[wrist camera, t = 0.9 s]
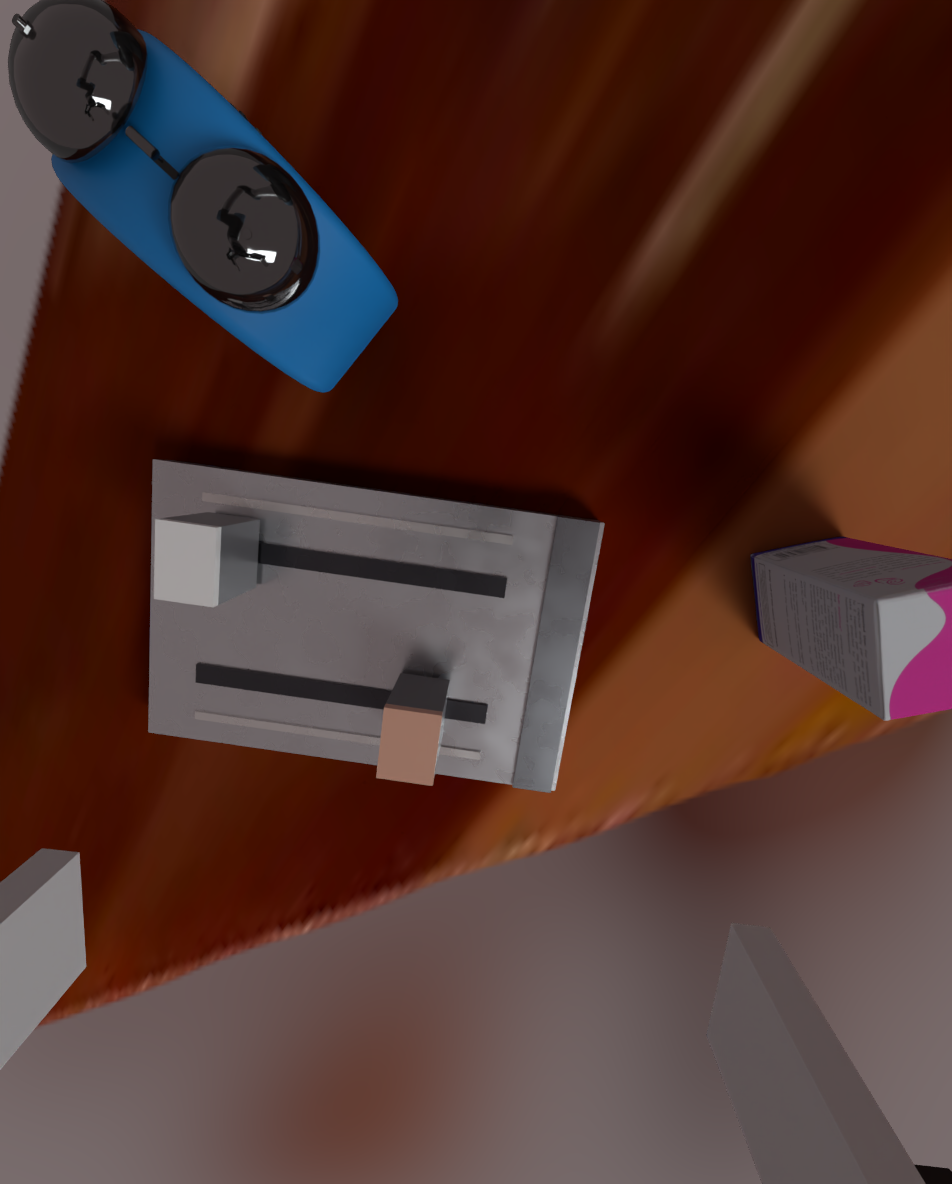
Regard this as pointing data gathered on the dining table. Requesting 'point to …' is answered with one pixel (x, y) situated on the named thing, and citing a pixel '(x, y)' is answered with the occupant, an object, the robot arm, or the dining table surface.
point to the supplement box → (861, 620)
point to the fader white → (205, 558)
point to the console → (376, 623)
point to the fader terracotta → (412, 729)
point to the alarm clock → (195, 189)
